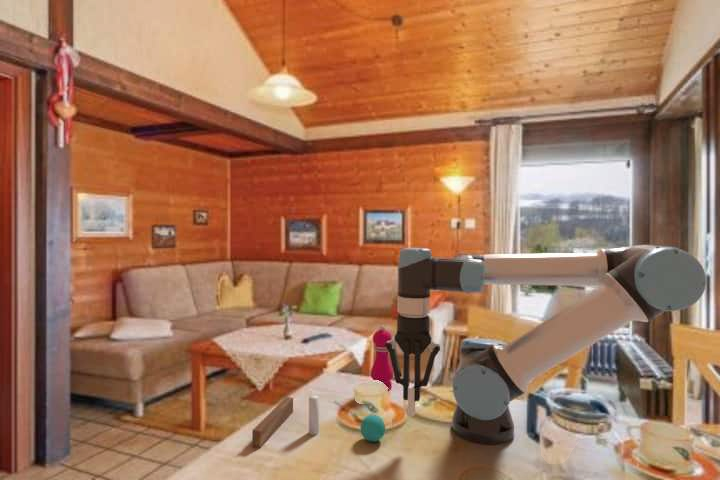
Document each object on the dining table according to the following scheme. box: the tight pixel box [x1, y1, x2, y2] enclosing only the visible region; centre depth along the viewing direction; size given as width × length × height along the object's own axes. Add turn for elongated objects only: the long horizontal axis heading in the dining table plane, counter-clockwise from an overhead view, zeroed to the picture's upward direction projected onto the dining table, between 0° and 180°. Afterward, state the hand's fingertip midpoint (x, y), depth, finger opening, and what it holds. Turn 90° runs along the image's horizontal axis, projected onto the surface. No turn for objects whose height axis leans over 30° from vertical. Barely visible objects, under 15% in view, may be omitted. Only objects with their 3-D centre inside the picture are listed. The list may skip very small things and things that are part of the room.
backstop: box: [251, 396, 294, 449], centre depth 111 cm, size 2×20×4 cm, turn 167°
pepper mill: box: [370, 324, 394, 391], centre depth 139 cm, size 7×7×20 cm
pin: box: [308, 394, 320, 436], centre depth 108 cm, size 2×2×9 cm
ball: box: [359, 414, 386, 443], centre depth 105 cm, size 6×6×6 cm
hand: (411, 413), depth 103 cm, fingers closed
